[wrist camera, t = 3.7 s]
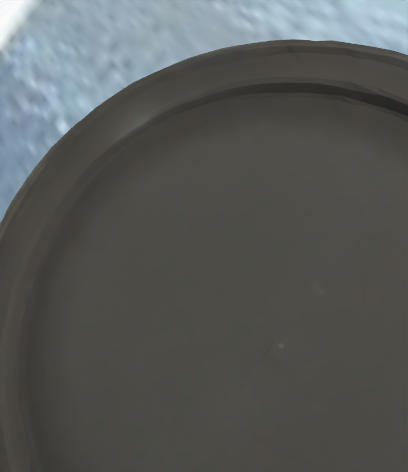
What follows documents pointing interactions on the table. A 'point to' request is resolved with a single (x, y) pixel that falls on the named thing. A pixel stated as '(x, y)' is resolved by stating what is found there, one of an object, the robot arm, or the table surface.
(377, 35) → the table surface
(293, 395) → the coffee can
